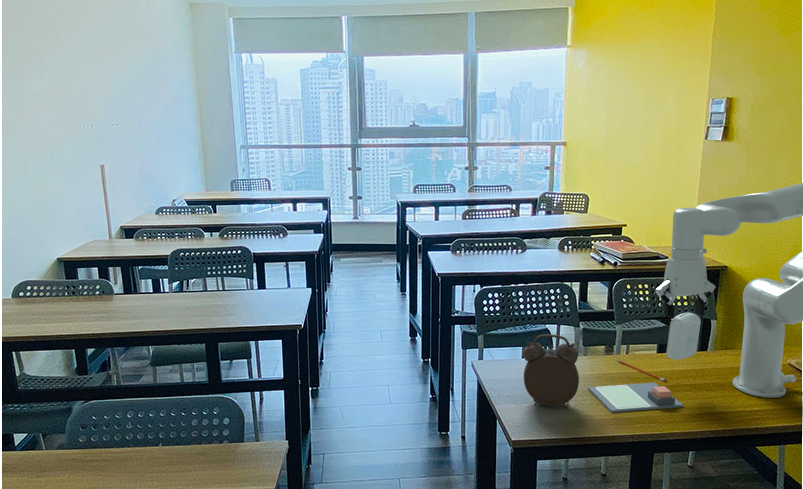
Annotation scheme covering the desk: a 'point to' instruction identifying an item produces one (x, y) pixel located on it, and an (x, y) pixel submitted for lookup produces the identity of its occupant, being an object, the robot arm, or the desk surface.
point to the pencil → (641, 370)
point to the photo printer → (683, 336)
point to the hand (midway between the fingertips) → (684, 315)
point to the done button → (661, 392)
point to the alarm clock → (551, 372)
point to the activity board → (632, 397)
